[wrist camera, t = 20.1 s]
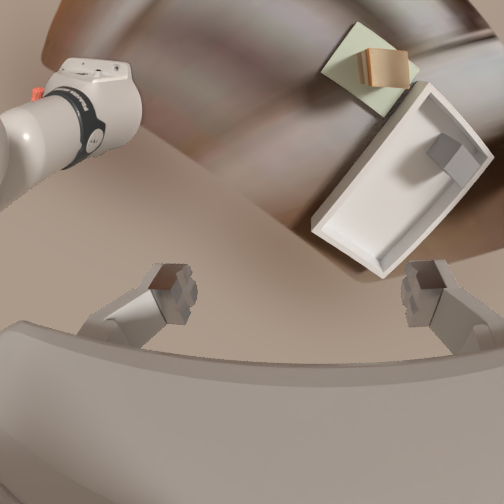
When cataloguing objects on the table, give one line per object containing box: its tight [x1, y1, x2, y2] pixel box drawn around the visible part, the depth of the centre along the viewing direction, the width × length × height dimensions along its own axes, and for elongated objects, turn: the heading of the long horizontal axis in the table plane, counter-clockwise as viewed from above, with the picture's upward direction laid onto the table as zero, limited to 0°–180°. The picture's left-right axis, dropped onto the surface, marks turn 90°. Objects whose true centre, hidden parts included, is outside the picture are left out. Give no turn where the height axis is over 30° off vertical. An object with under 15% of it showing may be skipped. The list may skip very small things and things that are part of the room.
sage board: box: [321, 22, 420, 118], centre depth 32 cm, size 11×10×1 cm
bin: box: [311, 81, 494, 279], centre depth 39 cm, size 16×29×4 cm, turn 151°
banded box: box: [356, 48, 410, 89], centre depth 28 cm, size 5×5×9 cm
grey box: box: [426, 133, 480, 188], centre depth 33 cm, size 4×4×7 cm
